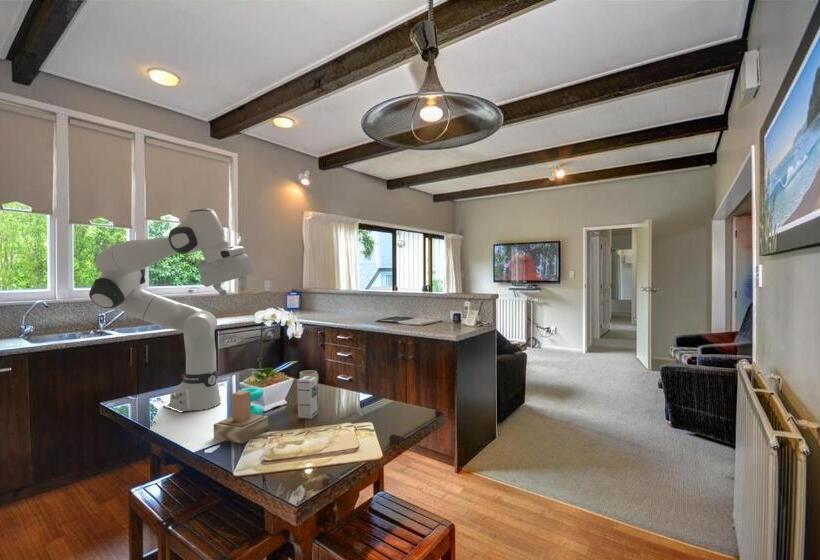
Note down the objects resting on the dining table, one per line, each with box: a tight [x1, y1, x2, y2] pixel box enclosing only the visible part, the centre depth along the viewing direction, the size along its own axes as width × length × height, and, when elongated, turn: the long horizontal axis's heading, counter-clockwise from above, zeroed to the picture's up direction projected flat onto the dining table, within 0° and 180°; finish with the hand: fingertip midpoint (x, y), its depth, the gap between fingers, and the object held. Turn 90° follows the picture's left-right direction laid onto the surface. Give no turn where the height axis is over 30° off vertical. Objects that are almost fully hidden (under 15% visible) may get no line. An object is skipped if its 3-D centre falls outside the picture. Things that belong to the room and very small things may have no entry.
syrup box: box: [296, 376, 319, 419], centre depth 146 cm, size 6×6×14 cm
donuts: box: [236, 387, 264, 415], centre depth 146 cm, size 10×10×10 cm
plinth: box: [213, 414, 269, 444], centre depth 130 cm, size 12×12×5 cm
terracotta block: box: [231, 389, 251, 422], centre depth 130 cm, size 4×4×9 cm
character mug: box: [297, 369, 319, 382], centre depth 162 cm, size 11×7×13 cm, turn 146°
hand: (234, 292), depth 132 cm, fingers open, 8 cm apart
